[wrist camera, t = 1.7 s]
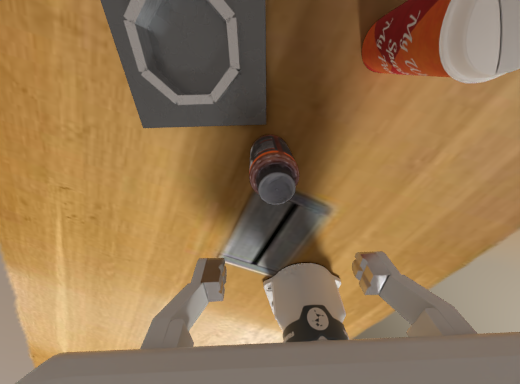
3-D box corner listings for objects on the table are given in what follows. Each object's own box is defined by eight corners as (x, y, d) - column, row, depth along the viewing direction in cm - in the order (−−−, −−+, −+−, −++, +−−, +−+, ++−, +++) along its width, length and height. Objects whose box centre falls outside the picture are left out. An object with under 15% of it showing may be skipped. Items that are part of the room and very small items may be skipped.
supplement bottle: (242, 155, 29) (236, 192, 20) (267, 125, 27) (274, 150, 17) (270, 177, 31) (278, 220, 22) (296, 150, 29) (317, 185, 19)
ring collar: (265, 122, 27) (267, 128, 24) (146, 126, 27) (133, 132, 24) (264, -62, 18) (266, -90, 15) (87, -58, 18) (53, -85, 15)
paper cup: (339, 49, 23) (435, 15, 11) (398, -20, 20) (621, -176, 8) (375, 96, 25) (483, 110, 13) (431, 41, 22) (635, -4, 10)
